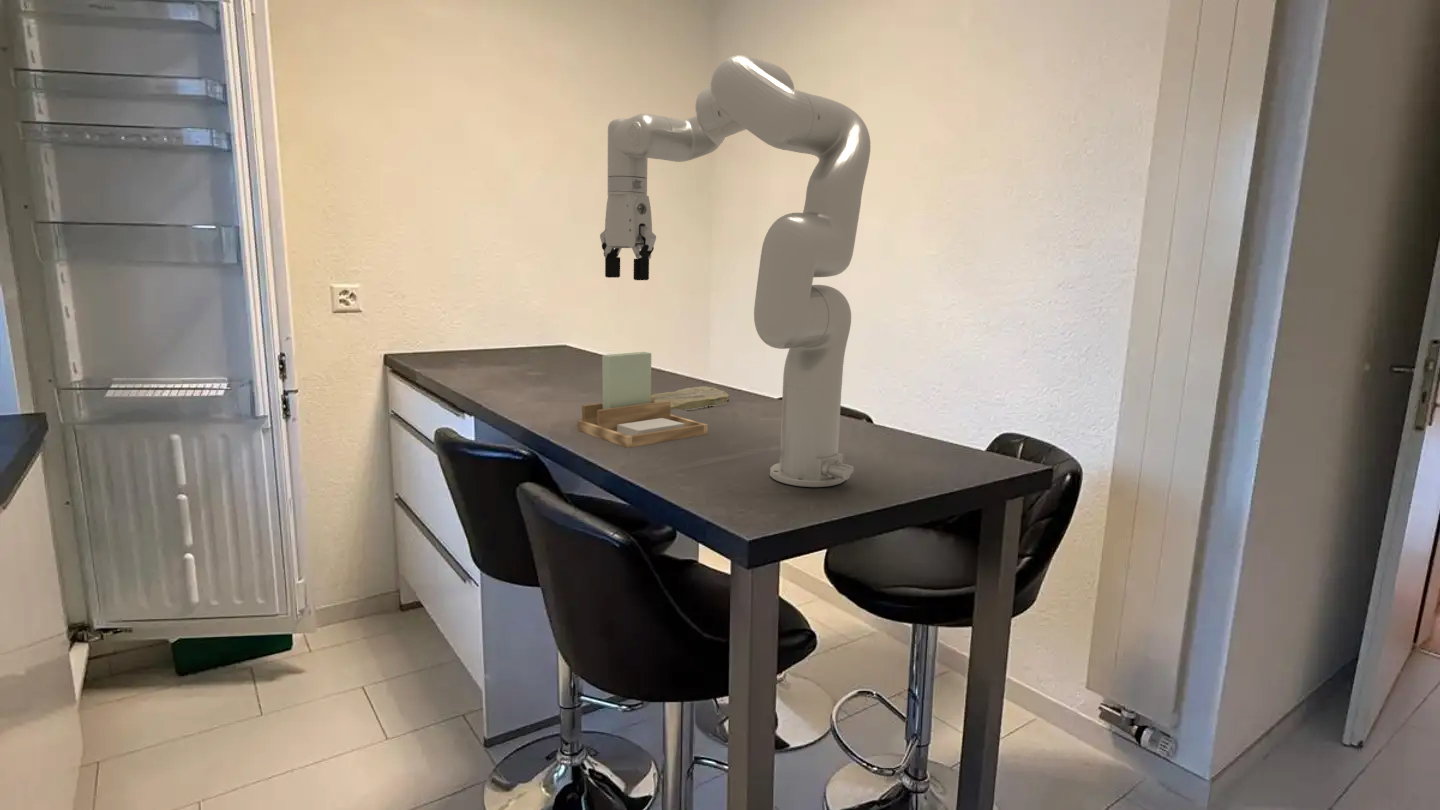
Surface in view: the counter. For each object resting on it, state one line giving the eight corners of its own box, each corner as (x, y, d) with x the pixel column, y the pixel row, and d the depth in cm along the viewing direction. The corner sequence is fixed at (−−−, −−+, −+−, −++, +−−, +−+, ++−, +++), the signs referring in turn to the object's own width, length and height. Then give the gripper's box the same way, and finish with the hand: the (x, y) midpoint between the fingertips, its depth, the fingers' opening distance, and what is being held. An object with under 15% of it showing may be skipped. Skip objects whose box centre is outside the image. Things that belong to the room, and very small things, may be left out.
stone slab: (741, 391, 195) (649, 401, 173) (740, 408, 195) (649, 420, 174) (705, 384, 203) (614, 392, 181) (704, 400, 204) (613, 410, 182)
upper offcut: (684, 433, 155) (684, 423, 155) (638, 441, 148) (638, 430, 148) (662, 427, 160) (662, 417, 160) (617, 434, 153) (617, 424, 153)
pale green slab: (650, 430, 163) (651, 353, 159) (609, 437, 156) (609, 356, 153) (643, 428, 164) (644, 351, 161) (602, 434, 158) (602, 355, 155)
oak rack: (707, 439, 156) (708, 409, 155) (627, 453, 144) (627, 421, 143) (655, 423, 169) (655, 396, 168) (577, 435, 156) (577, 405, 155)
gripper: (670, 188, 147) (668, 281, 151) (618, 190, 160) (617, 276, 163) (637, 185, 142) (636, 281, 146) (586, 188, 155) (586, 276, 158)
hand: (626, 278), depth 154 cm, fingers open, 9 cm apart
